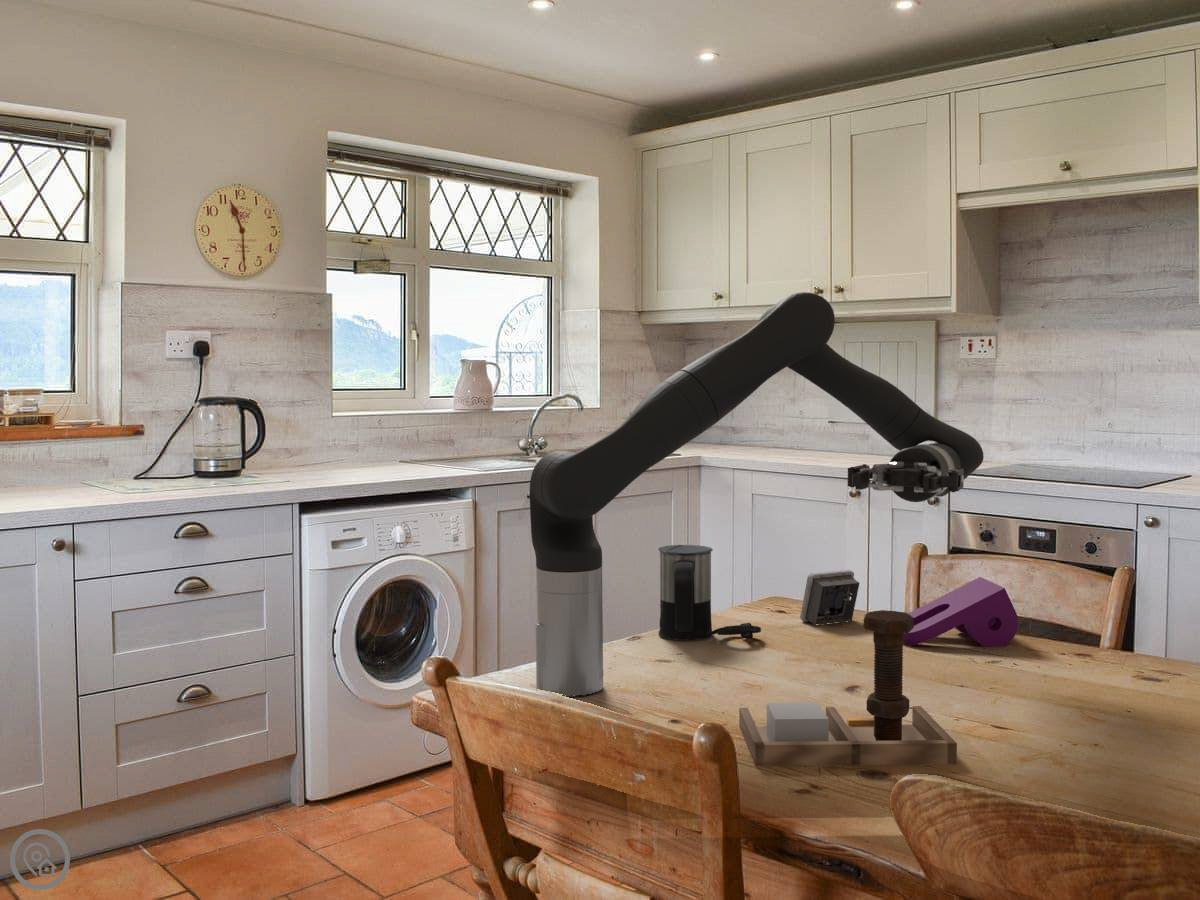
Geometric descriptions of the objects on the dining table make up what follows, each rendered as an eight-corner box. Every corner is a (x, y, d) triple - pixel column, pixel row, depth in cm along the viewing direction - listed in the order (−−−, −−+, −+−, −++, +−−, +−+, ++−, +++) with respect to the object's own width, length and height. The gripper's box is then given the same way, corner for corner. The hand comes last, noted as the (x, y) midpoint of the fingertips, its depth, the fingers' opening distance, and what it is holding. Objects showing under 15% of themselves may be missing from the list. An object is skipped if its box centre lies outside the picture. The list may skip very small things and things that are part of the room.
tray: (755, 776, 117) (755, 745, 116) (738, 733, 130) (738, 705, 130) (956, 774, 117) (956, 743, 116) (918, 732, 130) (918, 704, 130)
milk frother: (652, 630, 183) (652, 544, 182) (740, 625, 186) (740, 541, 185) (673, 651, 169) (673, 558, 168) (768, 645, 172) (768, 554, 171)
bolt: (905, 735, 126) (907, 609, 125) (919, 750, 121) (921, 619, 120) (856, 736, 126) (857, 610, 124) (868, 751, 121) (869, 620, 119)
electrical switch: (842, 616, 192) (846, 566, 191) (860, 625, 188) (864, 574, 186) (798, 622, 188) (801, 571, 187) (815, 631, 184) (819, 579, 182)
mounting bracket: (926, 685, 170) (1026, 634, 171) (904, 639, 169) (1004, 588, 170) (905, 668, 180) (1000, 620, 180) (884, 624, 179) (980, 576, 179)
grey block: (775, 754, 120) (775, 719, 120) (766, 735, 126) (766, 702, 126) (828, 753, 120) (828, 718, 120) (817, 735, 126) (817, 702, 126)
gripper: (871, 443, 152) (836, 451, 137) (975, 446, 144) (950, 454, 130) (870, 496, 152) (835, 509, 138) (974, 501, 145) (949, 515, 131)
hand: (891, 482), depth 134 cm, fingers open, 8 cm apart
